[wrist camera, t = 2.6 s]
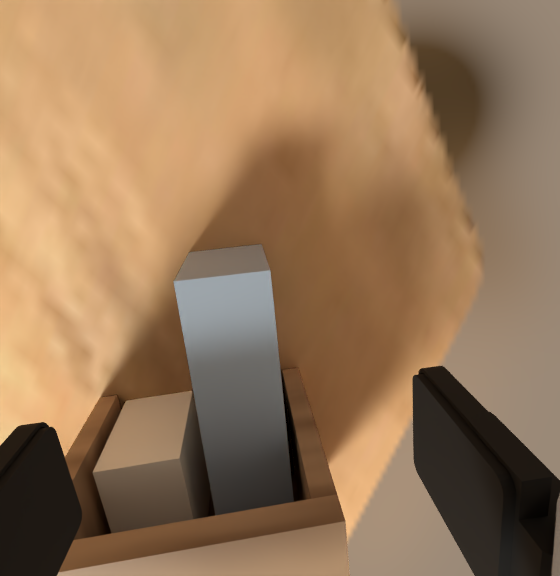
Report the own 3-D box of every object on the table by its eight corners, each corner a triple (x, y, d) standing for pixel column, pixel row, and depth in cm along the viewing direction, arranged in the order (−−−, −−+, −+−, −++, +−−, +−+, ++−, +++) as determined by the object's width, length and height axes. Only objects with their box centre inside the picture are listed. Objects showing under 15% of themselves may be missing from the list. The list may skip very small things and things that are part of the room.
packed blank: (126, 400, 24) (92, 472, 18) (192, 389, 24) (179, 458, 19) (150, 491, 26) (126, 581, 21) (211, 481, 27) (204, 567, 21)
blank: (189, 251, 22) (173, 281, 16) (261, 243, 22) (270, 270, 17) (221, 446, 26) (217, 525, 20) (282, 437, 26) (295, 513, 21)
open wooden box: (100, 397, 24) (-10, 584, 13) (298, 367, 25) (345, 521, 14) (133, 514, 27) (64, 748, 16) (310, 484, 27) (358, 686, 17)
